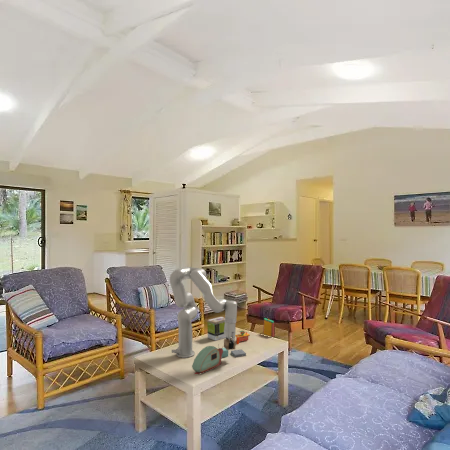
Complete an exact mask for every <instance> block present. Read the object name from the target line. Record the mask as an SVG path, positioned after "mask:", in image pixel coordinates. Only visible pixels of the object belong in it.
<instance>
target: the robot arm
mask: <svg viewBox="0 0 450 450" xmlns="http://www.w3.org/2000/svg"><path fill="white" fill-rule="evenodd" d="M187 279H189V280H191V281H192V282H193V283H194V285H195V286H196V287H197V289H198V290H199V291H200V292H201V294H202V297H203V299H204V301H205V303H206V304H207V306H208V307H209V308H210V309H211V310H212V311H213V312H214V313H216V314H217V313H222V312H223V311H225V313H224V314H225V315H224V318H225V326H224V335H225V336H226V338H225V339H229V341H230V343H229V349H233V348H234V341H236V336H235V335H236V331H237V329H236V323H237V314H238V302H237V301H235V300H228V299H225V298H219V299H217V298H216V296H215V295H214V293H213V285H212V283H211V282H210V280H208V279H207V271H206V270H205V269H204V268H199V267H191V266H183V267H180V268H176V269H175V270H173V271H172V273H171V274H170V276H169V284H170V286H171V291H172V293H173V299H174V302H175V305H176V306H177V308H182V309H180V311H179V312H178V313H177V323H178V325H177V326H178V347H177V348H175V349H171V353H173V354H176V355H175V356H177V357H178V358H183V359H184V358H185V359H186V358H191V357H194V355H195V351H194V350H193V325H192V320H194V319H196V318H197V316H198V308H197V305H196V302H195V298H194V295H193V294H192V292H189V291H186V288H185V285H184V284H183V282H182V281H184V280H187ZM231 339H232V340H231ZM233 350H234V349H233Z"/></svg>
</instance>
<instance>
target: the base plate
mask: <svg viewBox="0 0 450 450" xmlns="http://www.w3.org/2000/svg"><path fill="white" fill-rule="evenodd" d="M230 354H231V355H232V356H233V357H234V358H239V357H246V356H247V353H246V352H245V351H244V350H243V348H242V349H233V350H230Z"/></svg>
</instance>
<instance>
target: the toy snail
mask: <svg viewBox="0 0 450 450" xmlns="http://www.w3.org/2000/svg"><path fill="white" fill-rule="evenodd" d="M219 345H220V344H218V345H217V346H218V348H217V347H216V346H213V345H207V346H206V347H203V348H202V349H201V350H200V351H199V352H197V355H196V356H195V358H194V360H193V362H192V365H191V368H192V370H194V371H195V373H194V375H195V374H198V375H201V374H200V373H202V374H204V373H206V371H207V372H208V371H211V370H213V369H215V368H217V367H219V366H220V365H221V363H222V357H221V356H222V353H223V349H222V348H223V347H220V346H219ZM203 372H204V373H203Z"/></svg>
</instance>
